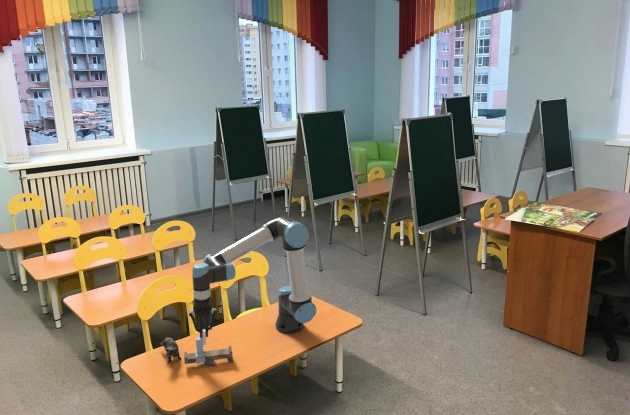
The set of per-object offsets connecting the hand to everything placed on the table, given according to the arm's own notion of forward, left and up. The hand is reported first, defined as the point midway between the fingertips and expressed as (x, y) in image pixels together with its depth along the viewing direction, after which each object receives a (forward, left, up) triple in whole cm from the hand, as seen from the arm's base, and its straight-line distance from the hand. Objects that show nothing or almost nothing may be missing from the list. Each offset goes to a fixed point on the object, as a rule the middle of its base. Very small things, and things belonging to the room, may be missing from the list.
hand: (204, 343), depth 234 cm
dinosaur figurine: (+15, -10, -11) cm, 22 cm away
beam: (-2, 0, -11) cm, 11 cm away
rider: (+2, 0, -8) cm, 8 cm away
